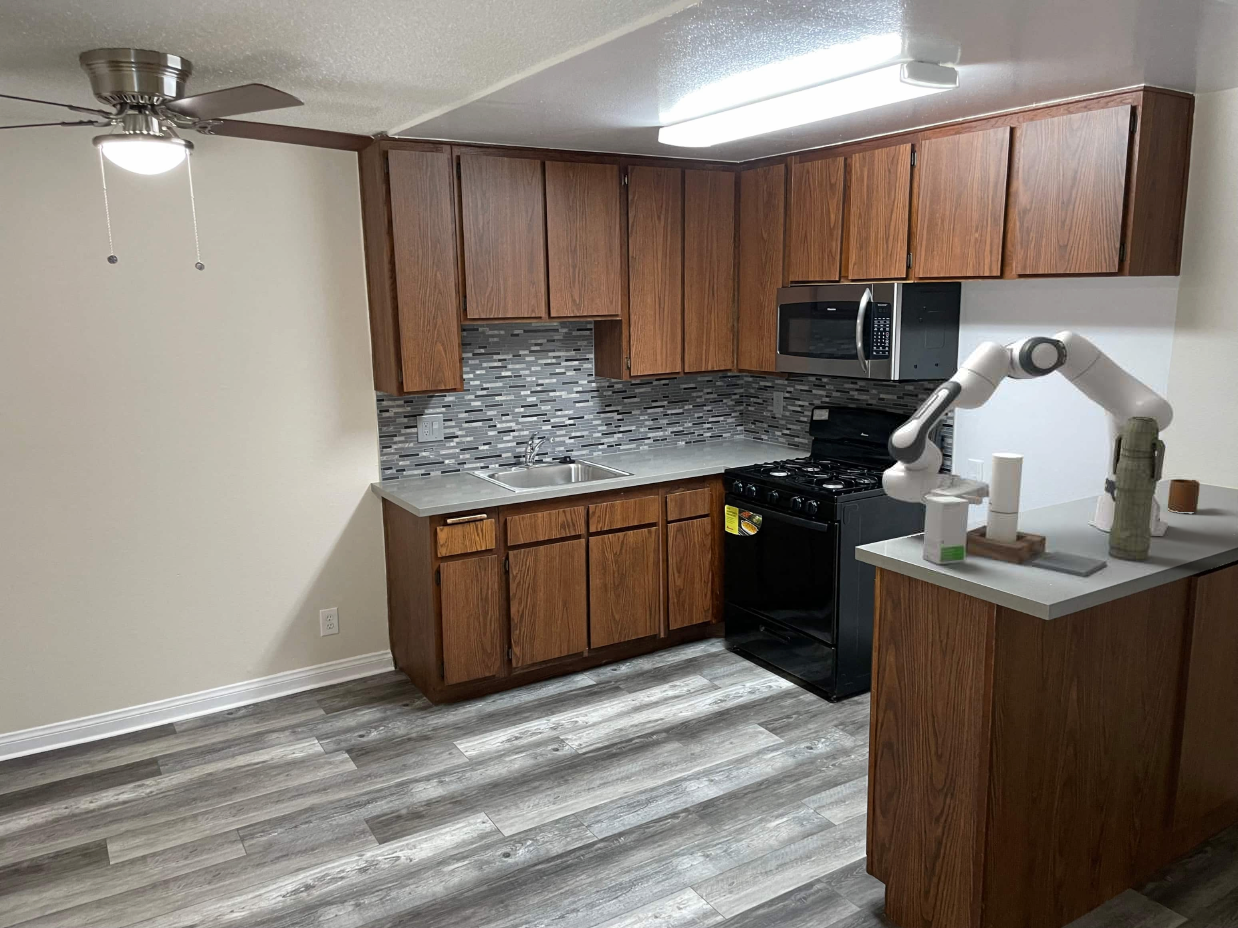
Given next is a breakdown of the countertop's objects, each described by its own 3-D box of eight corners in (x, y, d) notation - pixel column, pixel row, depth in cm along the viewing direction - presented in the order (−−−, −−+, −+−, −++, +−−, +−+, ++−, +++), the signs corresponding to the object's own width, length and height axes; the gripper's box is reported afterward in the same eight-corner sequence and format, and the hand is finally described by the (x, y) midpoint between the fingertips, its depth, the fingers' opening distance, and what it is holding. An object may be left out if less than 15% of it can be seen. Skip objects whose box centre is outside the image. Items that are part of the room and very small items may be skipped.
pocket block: (984, 539, 242) (985, 525, 242) (1044, 551, 231) (1046, 536, 230) (955, 550, 232) (956, 535, 231) (1017, 564, 220) (1018, 548, 219)
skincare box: (938, 565, 219) (942, 502, 216) (920, 558, 225) (924, 497, 222) (966, 562, 222) (970, 500, 219) (948, 555, 228) (952, 494, 225)
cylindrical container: (1007, 547, 235) (1014, 452, 230) (1020, 555, 228) (1028, 457, 223) (980, 547, 235) (987, 452, 230) (992, 555, 228) (1000, 457, 223)
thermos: (1143, 564, 219) (1158, 422, 213) (1095, 553, 229) (1108, 416, 223) (1161, 559, 224) (1177, 419, 218) (1113, 548, 234) (1127, 414, 228)
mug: (1180, 505, 282) (1183, 476, 281) (1207, 510, 276) (1210, 480, 275) (1162, 511, 275) (1166, 480, 274) (1190, 515, 269) (1193, 484, 268)
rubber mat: (1055, 554, 228) (1055, 551, 228) (1106, 564, 219) (1106, 560, 219) (1031, 565, 219) (1031, 561, 218) (1083, 576, 210) (1084, 572, 210)
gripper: (920, 484, 234) (971, 492, 224) (958, 473, 248) (1008, 480, 238) (919, 508, 235) (969, 517, 225) (957, 496, 249) (1006, 504, 239)
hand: (990, 498), depth 232 cm, fingers open, 8 cm apart
